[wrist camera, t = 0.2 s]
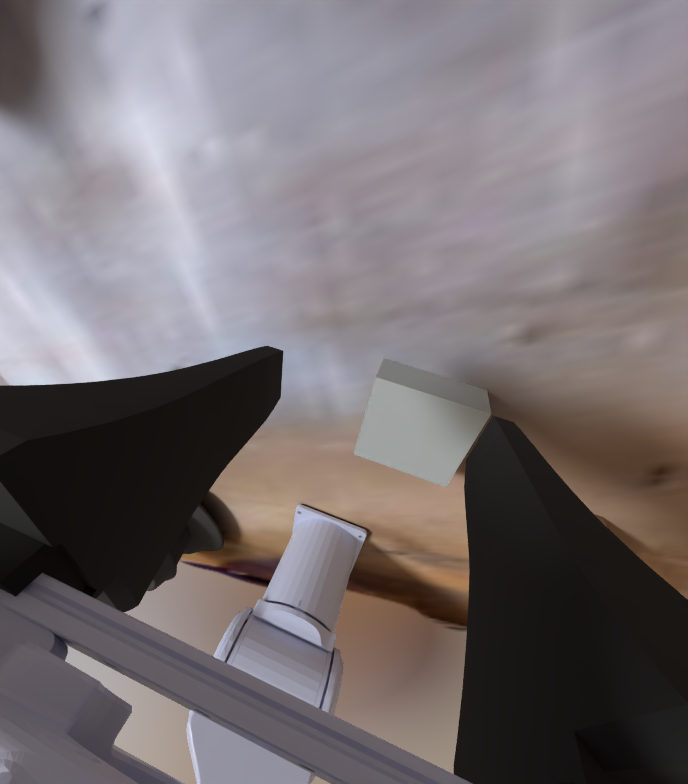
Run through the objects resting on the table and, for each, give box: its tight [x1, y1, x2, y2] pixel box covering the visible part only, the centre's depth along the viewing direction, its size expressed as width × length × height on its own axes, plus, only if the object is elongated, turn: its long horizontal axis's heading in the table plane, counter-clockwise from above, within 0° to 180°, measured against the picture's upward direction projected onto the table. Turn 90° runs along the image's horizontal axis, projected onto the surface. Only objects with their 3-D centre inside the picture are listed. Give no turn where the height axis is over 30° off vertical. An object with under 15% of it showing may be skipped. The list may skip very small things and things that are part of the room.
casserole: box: [147, 504, 224, 591], centre depth 39 cm, size 25×19×8 cm
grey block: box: [353, 358, 491, 487], centre depth 21 cm, size 7×7×3 cm
